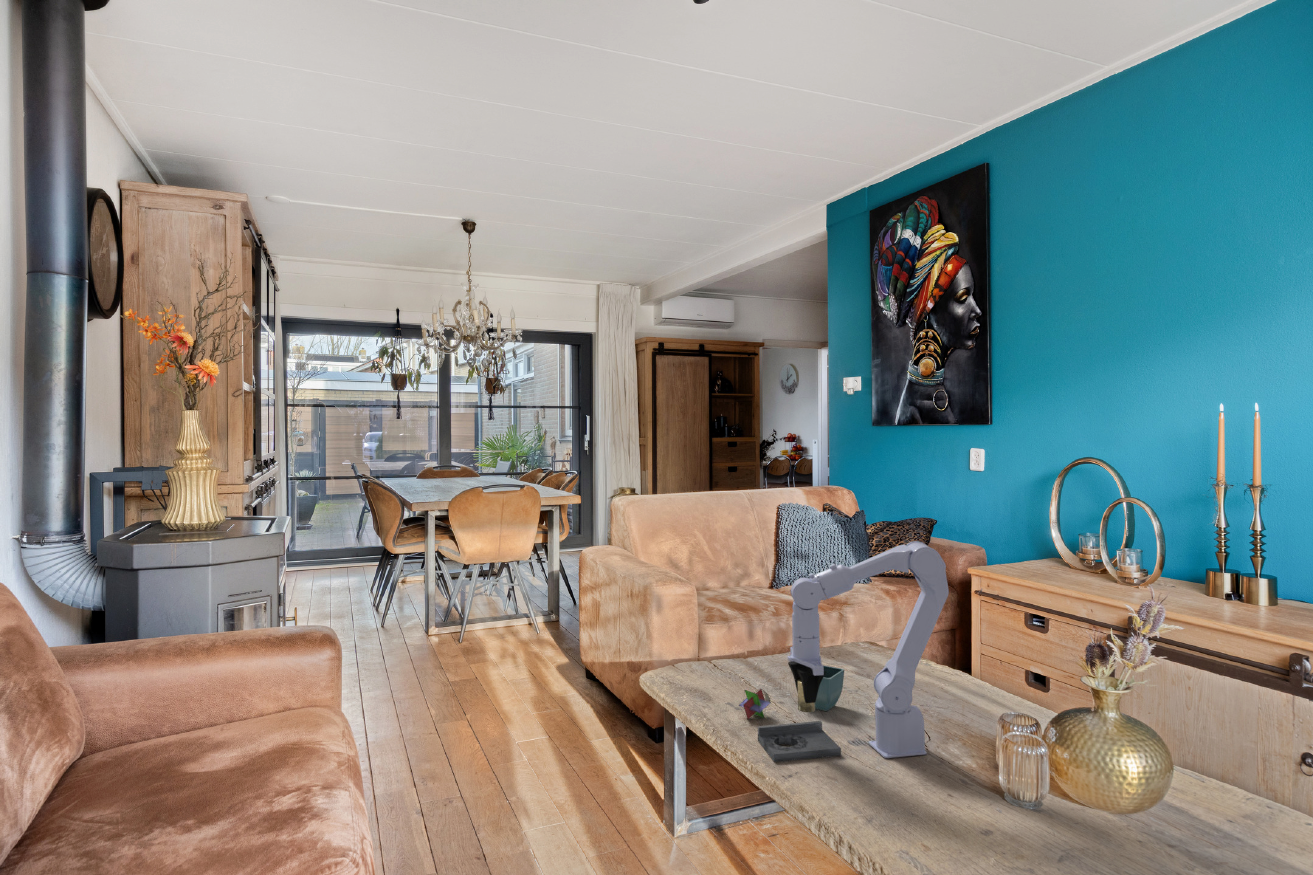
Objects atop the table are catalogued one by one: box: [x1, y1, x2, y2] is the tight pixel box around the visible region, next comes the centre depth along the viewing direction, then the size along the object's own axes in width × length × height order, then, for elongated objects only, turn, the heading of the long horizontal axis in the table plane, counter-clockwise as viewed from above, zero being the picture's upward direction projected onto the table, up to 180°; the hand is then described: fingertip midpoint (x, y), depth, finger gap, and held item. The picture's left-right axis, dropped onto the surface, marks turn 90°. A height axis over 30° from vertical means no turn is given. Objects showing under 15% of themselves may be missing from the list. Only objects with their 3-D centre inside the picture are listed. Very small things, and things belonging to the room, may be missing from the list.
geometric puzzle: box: [738, 688, 772, 720], centre depth 177 cm, size 7×7×8 cm
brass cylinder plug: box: [797, 679, 816, 713], centre depth 159 cm, size 4×4×6 cm
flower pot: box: [815, 664, 845, 712], centre depth 183 cm, size 9×9×9 cm
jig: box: [757, 720, 842, 763], centre depth 159 cm, size 14×11×3 cm
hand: (806, 698), depth 159 cm, fingers closed on brass cylinder plug, 4 cm apart
